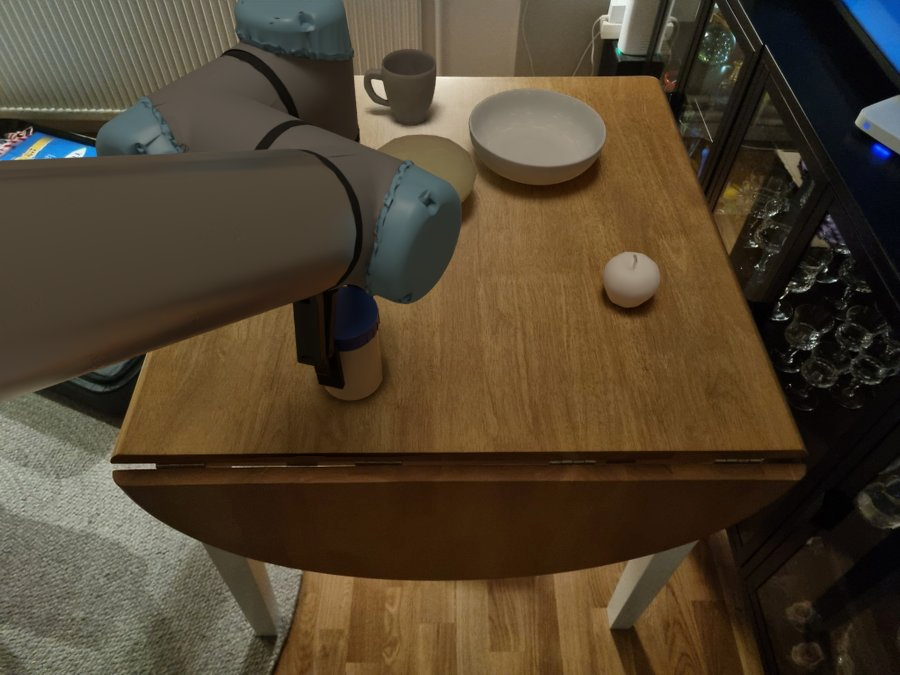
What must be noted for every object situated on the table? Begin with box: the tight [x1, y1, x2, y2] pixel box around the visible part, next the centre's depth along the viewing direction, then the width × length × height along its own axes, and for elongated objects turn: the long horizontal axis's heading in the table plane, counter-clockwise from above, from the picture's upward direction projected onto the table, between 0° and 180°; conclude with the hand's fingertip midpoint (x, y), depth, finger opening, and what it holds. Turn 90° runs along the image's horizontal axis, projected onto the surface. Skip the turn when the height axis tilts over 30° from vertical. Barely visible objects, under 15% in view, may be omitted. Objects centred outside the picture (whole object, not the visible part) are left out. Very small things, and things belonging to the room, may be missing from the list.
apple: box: [602, 251, 661, 309], centre depth 82 cm, size 7×7×8 cm
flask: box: [376, 133, 478, 204], centre depth 92 cm, size 9×16×18 cm
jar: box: [324, 330, 384, 401], centre depth 72 cm, size 7×7×11 cm
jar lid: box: [334, 285, 381, 352], centre depth 68 cm, size 8×8×2 cm
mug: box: [363, 48, 437, 126], centre depth 107 cm, size 12×9×10 cm
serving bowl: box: [468, 87, 608, 186], centre depth 101 cm, size 21×21×7 cm
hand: (348, 348), depth 72 cm, fingers open, 9 cm apart
